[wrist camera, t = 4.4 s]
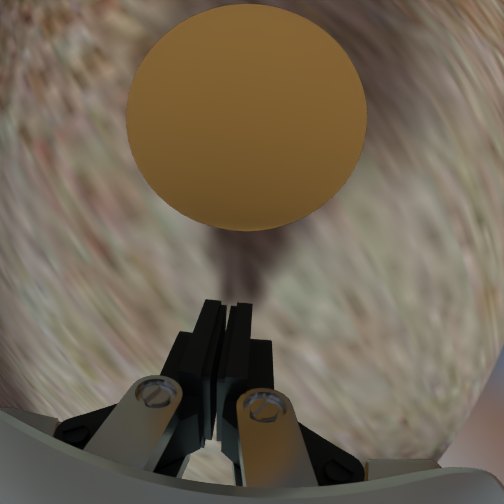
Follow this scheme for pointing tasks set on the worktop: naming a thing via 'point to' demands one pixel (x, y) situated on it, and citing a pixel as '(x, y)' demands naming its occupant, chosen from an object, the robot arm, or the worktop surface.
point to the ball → (246, 117)
